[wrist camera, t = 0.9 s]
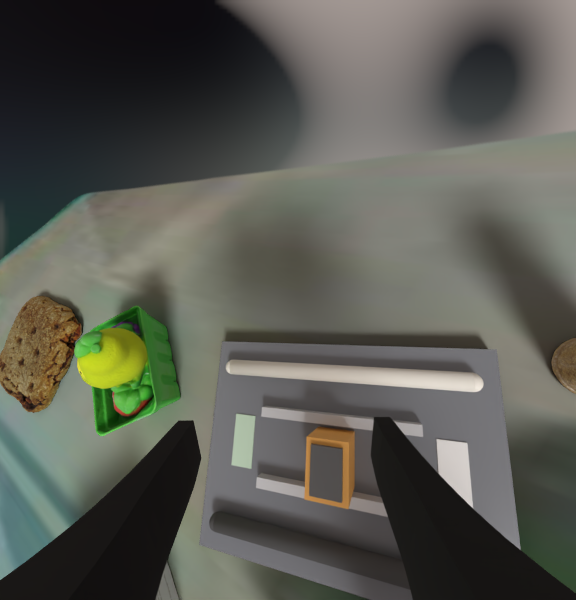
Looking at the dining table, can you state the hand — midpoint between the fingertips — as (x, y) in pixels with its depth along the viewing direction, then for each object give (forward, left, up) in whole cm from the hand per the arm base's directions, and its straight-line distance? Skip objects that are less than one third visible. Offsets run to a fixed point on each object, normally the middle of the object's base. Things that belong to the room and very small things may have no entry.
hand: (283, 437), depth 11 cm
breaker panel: (-4, 0, -15) cm, 16 cm away
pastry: (+3, +43, -16) cm, 46 cm away
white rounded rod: (+2, 0, -14) cm, 14 cm away
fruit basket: (+2, +21, -15) cm, 26 cm away
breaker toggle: (-4, 0, -14) cm, 14 cm away
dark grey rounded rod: (-11, 0, -14) cm, 17 cm away
